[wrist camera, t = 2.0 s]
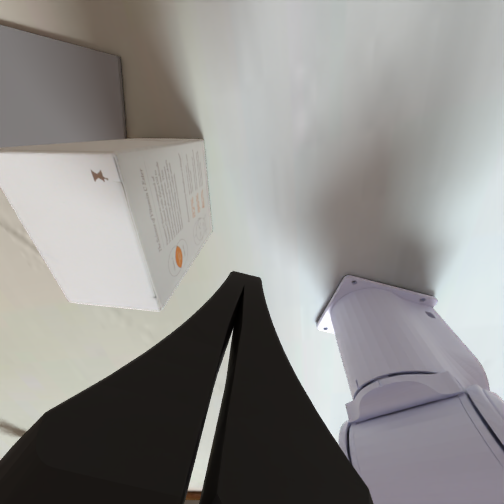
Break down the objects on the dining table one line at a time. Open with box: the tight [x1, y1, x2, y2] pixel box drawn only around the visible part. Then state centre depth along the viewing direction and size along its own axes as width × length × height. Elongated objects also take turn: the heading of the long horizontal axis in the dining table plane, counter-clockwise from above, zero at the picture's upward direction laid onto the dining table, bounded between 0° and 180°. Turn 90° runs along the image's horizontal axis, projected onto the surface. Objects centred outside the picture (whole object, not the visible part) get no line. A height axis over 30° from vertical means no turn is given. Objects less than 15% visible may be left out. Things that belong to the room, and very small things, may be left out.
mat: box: [0, 25, 127, 225], centre depth 18 cm, size 12×16×1 cm
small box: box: [0, 138, 213, 311], centre depth 14 cm, size 8×6×10 cm
